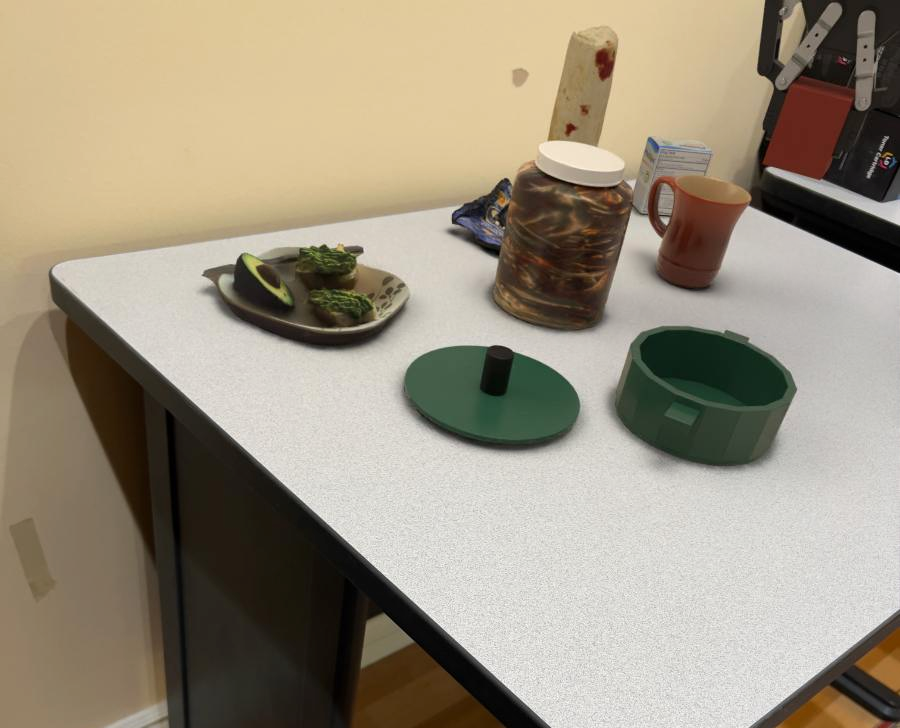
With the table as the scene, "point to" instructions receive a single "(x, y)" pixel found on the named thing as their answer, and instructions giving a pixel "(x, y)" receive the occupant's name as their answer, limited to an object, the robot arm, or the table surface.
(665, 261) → the mug
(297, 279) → the plate of avocado toast
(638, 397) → the pot
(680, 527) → the table surface
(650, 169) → the medicine box
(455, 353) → the pot lid
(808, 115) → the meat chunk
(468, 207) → the snack package
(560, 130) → the food model
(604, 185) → the jar
